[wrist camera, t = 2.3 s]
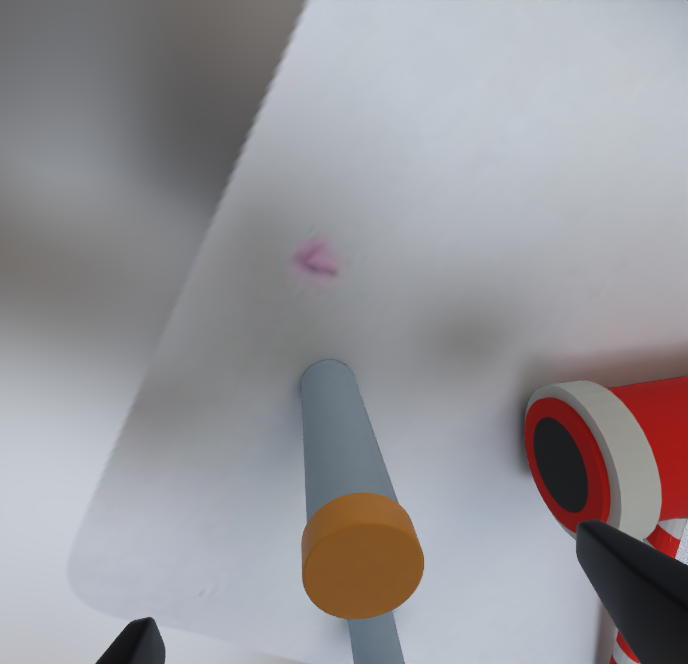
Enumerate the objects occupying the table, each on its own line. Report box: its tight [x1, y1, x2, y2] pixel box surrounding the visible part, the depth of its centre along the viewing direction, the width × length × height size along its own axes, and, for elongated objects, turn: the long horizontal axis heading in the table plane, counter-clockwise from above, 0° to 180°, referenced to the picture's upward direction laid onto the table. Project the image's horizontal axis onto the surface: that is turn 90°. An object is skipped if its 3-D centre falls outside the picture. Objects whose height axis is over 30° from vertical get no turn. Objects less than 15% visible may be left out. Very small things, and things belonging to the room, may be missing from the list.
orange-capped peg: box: [301, 360, 424, 619], centre depth 14 cm, size 3×3×10 cm
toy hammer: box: [524, 376, 688, 664], centre depth 20 cm, size 23×12×6 cm, turn 6°
